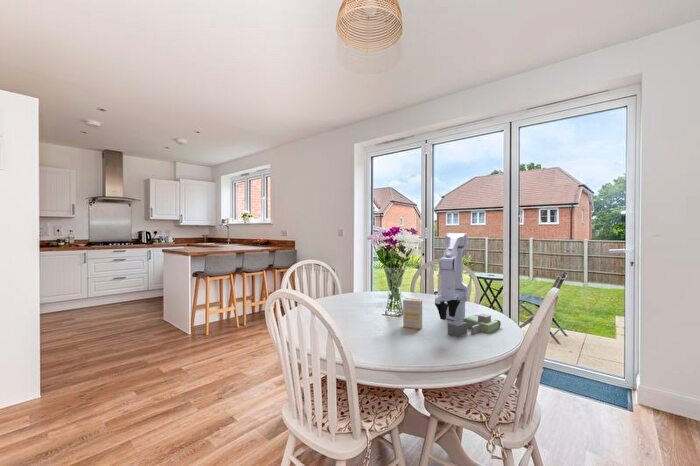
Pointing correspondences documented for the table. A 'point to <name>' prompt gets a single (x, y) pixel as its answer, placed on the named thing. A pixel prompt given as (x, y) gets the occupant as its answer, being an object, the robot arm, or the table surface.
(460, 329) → the grey block
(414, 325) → the supplement box
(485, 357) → the table surface
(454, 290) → the robot arm
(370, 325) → the table surface
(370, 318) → the table surface
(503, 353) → the table surface
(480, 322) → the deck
